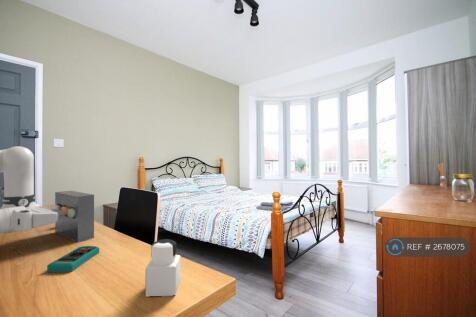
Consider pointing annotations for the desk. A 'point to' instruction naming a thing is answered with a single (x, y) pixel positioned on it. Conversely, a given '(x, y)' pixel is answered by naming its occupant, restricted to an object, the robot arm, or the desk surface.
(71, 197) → the control box
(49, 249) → the desk surface
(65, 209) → the orange button
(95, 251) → the digital multimeter
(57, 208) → the cream button
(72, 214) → the sage button
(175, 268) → the medicine bottle
